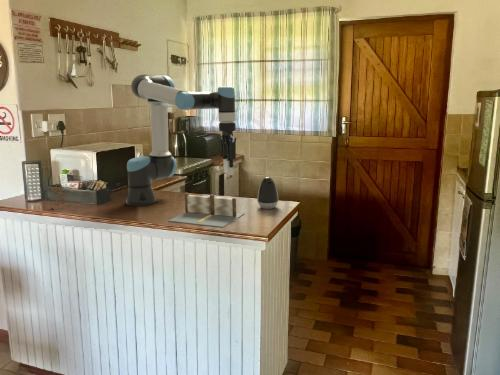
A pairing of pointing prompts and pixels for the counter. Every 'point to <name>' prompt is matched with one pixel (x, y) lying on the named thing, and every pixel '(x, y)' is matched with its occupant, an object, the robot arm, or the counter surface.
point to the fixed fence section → (199, 204)
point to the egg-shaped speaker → (267, 194)
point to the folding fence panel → (225, 206)
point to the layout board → (205, 219)
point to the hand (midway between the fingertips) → (228, 173)
